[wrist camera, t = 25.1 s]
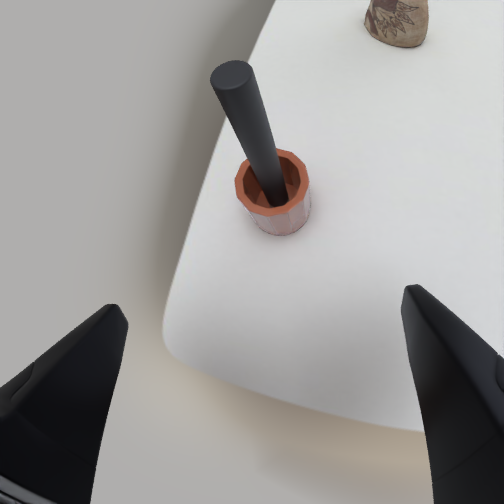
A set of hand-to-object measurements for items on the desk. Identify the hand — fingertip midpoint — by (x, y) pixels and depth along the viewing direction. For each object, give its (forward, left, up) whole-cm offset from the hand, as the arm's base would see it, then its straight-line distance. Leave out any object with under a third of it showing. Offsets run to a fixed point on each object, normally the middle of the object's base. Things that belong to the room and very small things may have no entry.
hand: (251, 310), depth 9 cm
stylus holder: (+7, -1, -13) cm, 15 cm away
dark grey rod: (+7, -1, -12) cm, 14 cm away
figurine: (+26, -18, -13) cm, 34 cm away
